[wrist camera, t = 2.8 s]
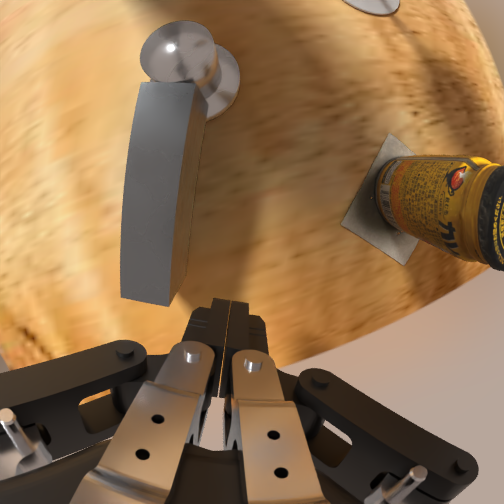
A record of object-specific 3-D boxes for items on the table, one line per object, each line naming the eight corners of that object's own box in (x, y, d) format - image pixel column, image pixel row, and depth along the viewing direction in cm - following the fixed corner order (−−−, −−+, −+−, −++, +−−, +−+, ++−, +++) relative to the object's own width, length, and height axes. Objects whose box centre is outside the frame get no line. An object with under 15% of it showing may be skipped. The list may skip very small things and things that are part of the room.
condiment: (446, 183, 20) (552, 204, 8) (403, 265, 22) (495, 334, 10) (387, 132, 19) (500, 113, 7) (338, 223, 21) (429, 282, 9)
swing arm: (171, 52, 15) (150, 21, 11) (226, 55, 16) (220, 21, 11) (141, 267, 20) (113, 295, 15) (192, 276, 20) (177, 308, 15)
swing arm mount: (164, 46, 16) (160, 41, 15) (246, 51, 17) (246, 44, 16) (147, 121, 18) (142, 118, 17) (232, 128, 19) (231, 125, 17)
